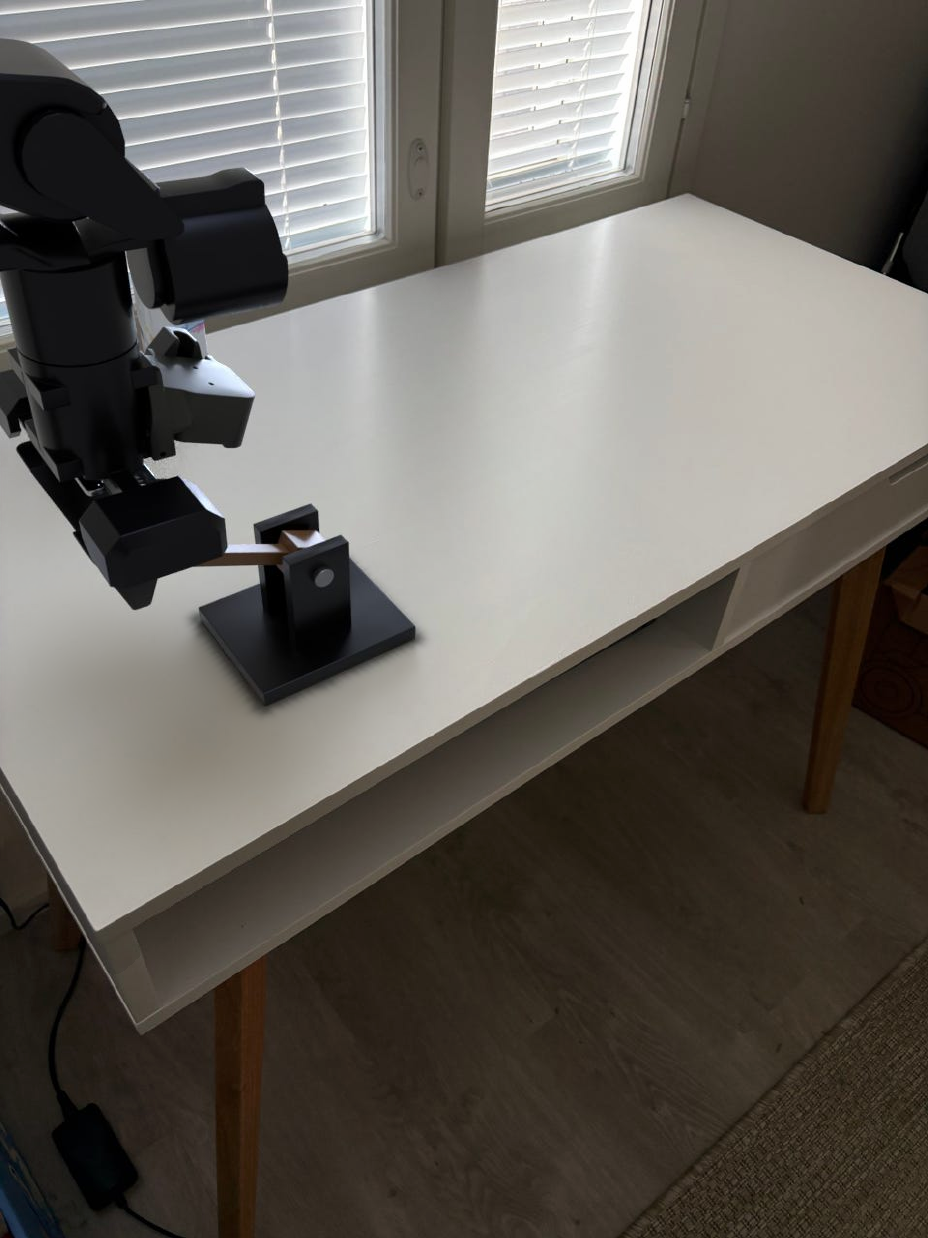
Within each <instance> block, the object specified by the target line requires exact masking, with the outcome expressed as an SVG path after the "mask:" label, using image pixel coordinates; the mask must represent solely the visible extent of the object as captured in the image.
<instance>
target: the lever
mask: <svg viewBox="0 0 928 1238" xmlns="http://www.w3.org/2000/svg"><path fill="white" fill-rule="evenodd" d="M319 533H320V532H319ZM319 533H318V532H317V531H316V530H282V532H281V535H280V538H279V541H278V544H255V543H242V544H241V543H238V544H236V543H235V544H228V543H227V545H228V548H227V550H226V551H225V553H224V555H223V557H220V558H217V559H214V560H212V561H209V562H206V563H203V564H200V565H197V566H194V567H193V568H204V567H205V568H207V567H241V566H242V567H245V566H246V567H247V566H258V565H277V566H278V568H279V569H280V570H281V571H282V572H283V573H284V571H283V560H282V557H283V556H286V555H288V554H291V553H294V552H296V551H299V550H302V549H304V548H307V547H309V546H312V545H315V544H317V543H320V542H322V541H325V540H326V539H325V538H324V537H323V535H321V533H320V534H319Z"/></svg>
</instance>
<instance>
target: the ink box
mask: <svg viewBox="0 0 928 1238" xmlns="http://www.w3.org/2000/svg"><path fill="white" fill-rule="evenodd" d="M130 281H131V285H132V292H133V297H134V303H135V309H136V313H137V320H138V326H139V332H140V338H141V343H142V344H141V345H142V350H143V353H144V354H145V351H146V348H147V347H148V346H149V344H150V343H151V342H152V341H153V339H154V338H155V337H156V335H157V334H158V333H159V332H160V330H161V329H162V328H163V327H164V326H168V327H175V328H182V329H186V330H187V331H188V332H189V333H190V334H191V335H192V336H193V337H194V338H195V339H196V340H197V341H198V342H199V344H200V348H201V353H202V357H203V359H205V355H208V356H209V351H208V350H209V349H208V343H207V335H206V330H205V322H204V321H205V320H202V321H197V322H192V323H187V324H182V325H173V324H172V323H170V322H169V321H168V320H167V319H166V317H165V316H164V314H163V313H162V311H161V309H160V308H154V309H148V308H147V307H145V306H144V304H143V303H142V301H141V300H140V298H139V296H138V294H137V291H136V289H135V287H134V284H133V281H132V278H131V277H130Z"/></svg>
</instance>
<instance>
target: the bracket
mask: <svg viewBox="0 0 928 1238" xmlns="http://www.w3.org/2000/svg"><path fill="white" fill-rule="evenodd" d="M319 517H320V515H319V510H318V508H316V506H315V505H314V504H313V503H308V504H305V505H302V506H299V507H297V508H294V509H291V510H289V511H285V512H282V513H279V514H277V515H274V516H272V517H269V518H266V519H263V520H261V521H257V522H254V523H253V526H252V527H253V534H254V535H253V536H254V544H278V541H279V538H280V535H281V532H282V530H316V531H317V532H318V533H319V534H320V535H321V533H320V518H319ZM282 560H283V571H284V573H283V572H282V571H281V570H280V569H279V568H278V566H277V565H257V570H258V577H259V583H257V584H254V585H252V586H249V587H246V588H244V589H241V590H239V591H236V592H234V593H231V594H229V595H227V596H223V597H221V598H219V599H216V600H213V601H211V602H208V603H206V604H203V605H201V606H199V607H198V613H199V614H198V615H199V618H200V621H201V622H202V624H204V626H205V627H206V629H207V630H208V631H209V633H210V634H211V636H212V637H213V638H214V639H215V641H216V642H217V643H218V645H219V646H220V647H221V649H222V650H223V652H224V653H225V654H226V656H227V657H228V659H230V661H231V663H233V665H234V666H235V667H236V669H237V670H238V671H239V673H240V675H242V677H243V678H244V679H245V681H246V682H247V683H248V685H249V686H250V688H251V690H253V692H254V693H255V694H256V695H257V697H258V699H259V700H260V701H261V702H262V704H263V705H264V706H268V705H271V704H273V703H275V702H278V701H280V700H283V699H284V698H286V697H288V696H290V695H293V694H296V693H297V692H299V691H301V690H304V689H307V688H308V687H310V686H313V685H315V684H317V683H319V682H321V681H324V680H326V679H329V678H331V677H333V676H336V675H338V674H339V673H342V672H344V671H346V670H349V669H350V668H352V667H355V666H357V665H358V664H361V663H363V662H365V661H368V660H370V659H372V658H374V657H377V656H379V655H381V654H383V653H385V652H388V651H390V650H392V649H395V648H396V647H399V646H401V645H403V644H406V643H408V642H410V641H412V640H414V639H416V631H417V630H416V625H415V624H414V623H413V622H412V621H411V620H410V619H409V618H408V617H407V616H406V614H404V612H403V611H401V609H400V608H399V607H398V606H396V604H395V603H394V602H393V601H392V600H391V599H390V598H389V597H388V596H387V595H386V594H385V592H383V591H382V589H381V588H380V587H379V586H378V585H377V584H376V583H375V582H374V581H373V580H372V579H371V578H370V576H368V575H367V573H365V572H364V571H363V569H362V568H361V567H360V566H359V565H358V564H357V563H356V562H355V561H354V560H353V559H352V558H351V557H350V543H349V541H348V540H347V539H346V537H345V536H344V535H343V534H338V535H336V536H333V537H331V538H330V537H329V538H328V539H325V541H322V542H320V543H317V544H315V545H312V546H309V547H307V548H304V549H302V550H299V551H296V552H294V553H291V554H288V555H286V556H283V557H282Z"/></svg>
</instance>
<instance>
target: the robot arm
mask: <svg viewBox="0 0 928 1238" xmlns="http://www.w3.org/2000/svg"><path fill="white" fill-rule="evenodd" d="M265 191H266V190H265V182H264V181H263V180H262V179H260V178H259V177H258V176H257V175H255V174H254V173H253V172H252V171H250V170H249V169H248V168H247V167H245V166H242V167H233V168H226V169H221V170H219V171H217V172H214V173H212V174H208V175H205V176H198V177H187V178H182V179H181V178H179V179H173V180H165V181H158V182H154V181H153V180H151V179H150V178H149V176H148V175H146V174H145V173H144V172H143V171H142V170H140V169H139V167H137V166H136V165H135V164H134V163H133V162H131V160H129V159H128V157H126V140H125V137H124V134H123V130H122V126H121V124H120V120H119V118H118V117H117V115H116V114H115V112H114V111H113V109H112V108H111V106H110V105H109V104H108V101H107V100H106V99H105V98H104V97H103V96H102V95H101V94H99V93H98V92H97V91H96V90H95V89H94V88H92V87H91V86H90V85H89V84H88V83H87V82H86V81H84V80H83V79H82V78H81V77H80V76H78V75H77V74H76V73H75V72H74V71H72V70H71V69H70V68H69V67H68V66H66V65H65V64H64V63H63V62H62V61H60V60H59V59H58V58H57V57H56V56H54V55H53V54H51V53H50V52H49V51H48V50H46V49H45V48H42V47H40V46H38V45H36V44H34V43H31V42H29V41H25V40H19V39H14V38H1V37H0V207H3V208H6V209H9V210H13V211H16V212H10V213H0V284H1V288H2V292H3V293H2V294H3V296H4V300H5V301H4V302H5V305H6V310H7V314H8V318H9V322H10V326H11V331H12V335H13V339H14V343H15V347H12V348H8V349H6V350H7V355H8V359H9V363H10V367H11V369H8V370H3V371H0V428H1V429H2V431H3V432H4V433H5V435H6V436H7V437H8V439H14V438H17V437H20V436H21V433H22V428H23V429H24V431H25V432H26V434H27V437H28V439H29V440H27V441H24V442H23V441H22V442H21V443H19V444H18V445H17V446H16V447H15V450H16V453H17V455H18V456H19V458H20V459H21V461H22V462H23V464H24V465H25V467H26V468H27V469H28V471H29V473H30V474H31V475H32V477H33V478H34V479H35V480H36V482H37V483H38V484H39V485H40V487H41V488H42V490H44V492H45V493H46V494H47V496H48V497H49V498H50V500H51V501H52V502H53V503H54V505H55V506H56V507H57V509H58V510H59V511H60V512H61V515H63V516H64V518H65V519H66V520H67V522H68V523H69V524H70V525H71V527H72V528H73V529H74V531H72V535H73V537H74V539H75V540H76V541H77V543H78V544H79V546H80V547H81V549H82V550H83V552H84V553H85V555H86V556H87V557H88V559H89V560H90V562H91V563H92V564H93V565H94V566H95V567H96V568H97V569H98V571H99V572H100V574H101V576H102V577H103V578H104V579H105V581H106V582H107V584H108V586H109V587H110V588H114V589H115V590H116V592H117V593H118V594H119V595H120V596H121V598H122V599H123V600H124V601H125V603H126V604H127V605H128V606H129V607H130V609H131V610H132V611H138V610H142V609H144V608H147V607H149V606H151V604H152V602H153V599H154V594H155V591H156V587H157V583H158V580H159V579H162V578H164V577H167V576H170V575H173V574H176V573H179V572H182V571H185V570H188V569H191V568H195V567H194V566H197V565H200V564H203V563H206V562H209V561H212V560H214V559H217V558H220V557H223V555H224V553H225V551H226V550H227V548H228V545H227V544H228V536H227V526H226V525H227V524H226V518H225V517H224V516H223V514H222V513H221V512H220V511H219V510H218V509H217V507H215V505H214V504H213V502H211V500H210V499H209V498H208V497H207V496H206V495H205V494H204V492H203V491H202V490H201V488H200V487H198V485H197V484H195V483H193V482H191V481H189V480H188V479H186V478H183V477H181V476H179V475H176V476H175V475H174V476H171V477H169V478H165V477H164V478H159V477H156V476H155V475H154V473H153V472H152V471H151V470H150V469H149V467H148V466H147V465H146V463H145V460H146V459H150V458H151V459H152V461H153V462H157V461H161V460H165V459H168V458H171V457H174V456H175V457H176V456H177V452H176V443H175V441H176V442H180V443H183V444H184V443H186V444H203V445H204V444H205V445H221V446H222V447H223V448H225V449H237V448H240V447H241V446H242V444H243V440H244V437H245V433H246V430H247V427H248V423H249V419H250V415H251V412H252V408H253V404H254V401H255V398H256V393H255V392H254V391H253V390H252V388H251V387H249V386H248V385H247V384H246V382H244V381H243V380H242V379H241V378H240V377H239V376H238V375H237V374H236V373H235V372H234V371H233V370H232V369H231V368H230V367H228V366H226V365H225V364H223V363H221V362H218V361H217V360H216V359H215V358H214V357H213V356H212V355H209V354H208V355H205V359H203V357H202V353H201V348H200V344H199V342H198V341H197V340H196V339H195V338H194V337H193V336H192V335H191V334H190V333H189V332H188V331H187V330H186V329H182V328H175V327H168V326H164V327H163V328H162V329H161V330H160V332H159V333H158V334H157V335H156V337H155V338H154V339H153V341H152V342H151V343H150V344H149V346H148V347H147V348H146V351H145V354H144V351H142V350H141V349H140V341H139V335H138V329H137V322H136V314H135V309H134V302H133V295H132V288H131V282H132V281H133V284H134V287H135V289H136V291H137V294H138V296H139V298H140V300H141V301H142V303H143V304H144V306H145V307H147V308H148V309H154V308H160V309H161V311H162V313H163V314H164V316H165V317H166V319H167V320H168V321H169V322H170V323H172V324H173V325H182V324H187V323H192V322H197V321H202V320H203V321H206V320H211V319H216V318H221V317H227V316H232V315H236V314H241V313H242V314H243V313H247V312H251V311H257V310H261V309H262V310H263V309H267V308H273V307H277V306H280V305H281V304H282V303H283V302H284V300H285V298H286V296H287V293H288V289H289V278H290V277H289V276H290V273H289V272H290V271H289V260H288V257H287V255H286V254H285V253H284V251H283V245H282V242H281V238H280V235H279V231H278V228H277V225H276V222H275V219H274V216H273V215H272V213H271V211H270V208H269V206H268V205H267V204H266V192H265ZM131 278H132V280H130V279H131ZM130 281H131V282H130Z"/></svg>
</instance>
